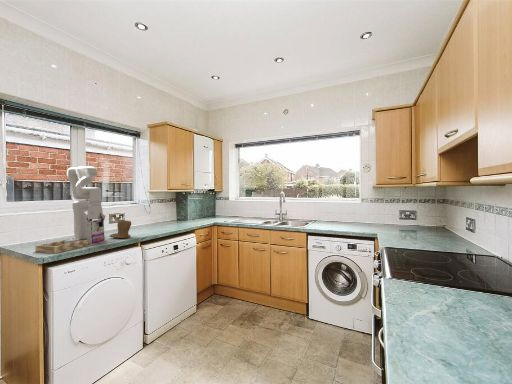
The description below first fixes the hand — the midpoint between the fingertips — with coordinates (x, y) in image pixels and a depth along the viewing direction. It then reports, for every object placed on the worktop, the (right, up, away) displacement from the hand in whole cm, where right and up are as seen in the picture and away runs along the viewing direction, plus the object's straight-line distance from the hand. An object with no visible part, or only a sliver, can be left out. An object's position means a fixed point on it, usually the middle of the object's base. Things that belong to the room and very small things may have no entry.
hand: (95, 226), depth 182 cm
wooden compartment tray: (-11, -13, -17) cm, 24 cm away
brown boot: (+8, -12, +21) cm, 26 cm away
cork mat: (0, -12, 0) cm, 12 cm away
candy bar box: (0, -12, 0) cm, 12 cm away
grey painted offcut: (-10, -10, -10) cm, 18 cm away
